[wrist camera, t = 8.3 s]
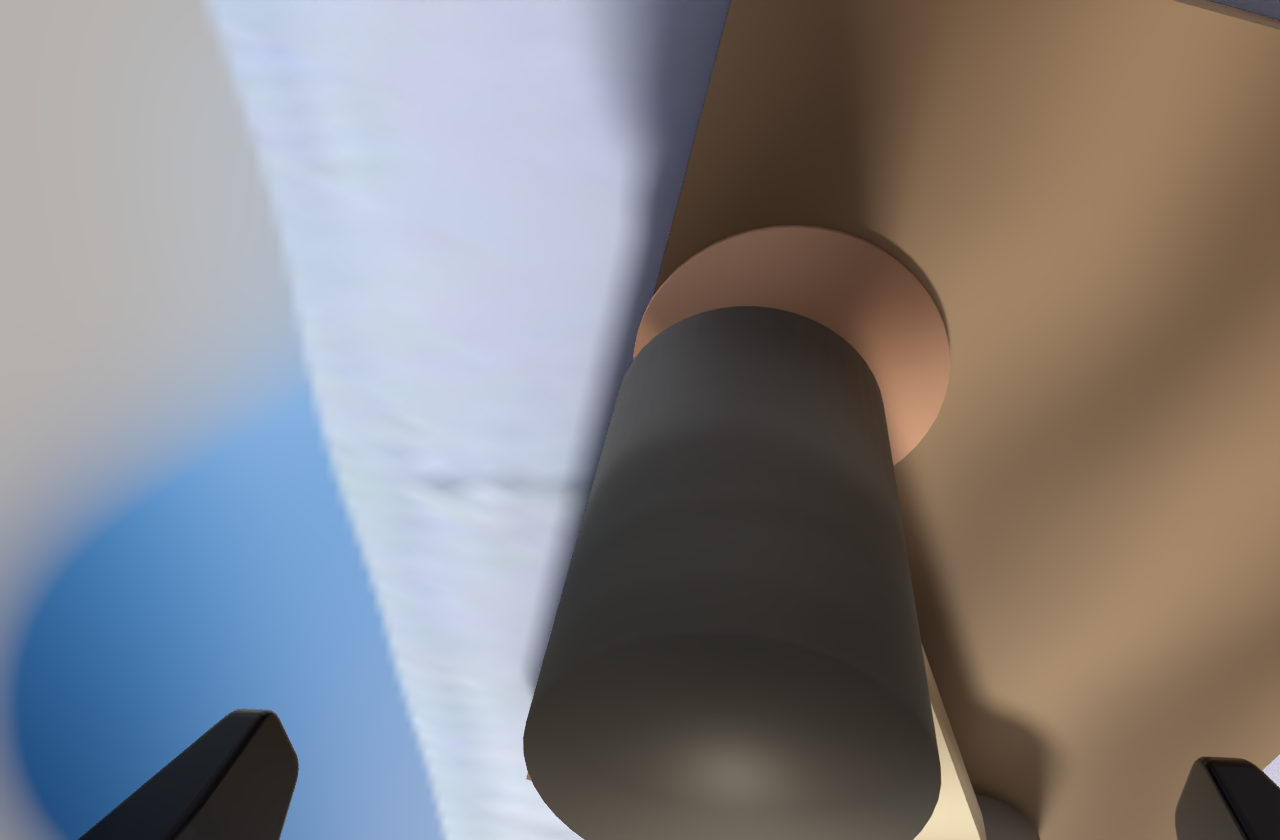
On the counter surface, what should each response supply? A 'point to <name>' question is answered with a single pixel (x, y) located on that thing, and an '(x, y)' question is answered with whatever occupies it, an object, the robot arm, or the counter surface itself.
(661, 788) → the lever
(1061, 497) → the board
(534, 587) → the counter surface
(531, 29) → the counter surface
